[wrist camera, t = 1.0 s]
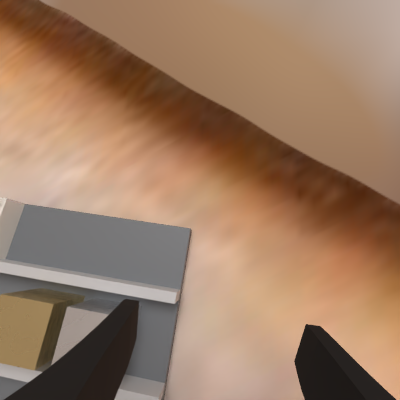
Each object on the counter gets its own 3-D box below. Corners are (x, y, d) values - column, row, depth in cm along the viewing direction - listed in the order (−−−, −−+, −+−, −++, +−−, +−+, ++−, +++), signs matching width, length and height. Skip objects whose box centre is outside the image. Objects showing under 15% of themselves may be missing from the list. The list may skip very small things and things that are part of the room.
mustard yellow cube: (71, 348, 19) (34, 370, 15) (26, 338, 19) (-22, 358, 15) (84, 295, 20) (53, 304, 16) (41, 287, 20) (0, 294, 16)
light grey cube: (130, 360, 18) (108, 386, 14) (82, 350, 19) (48, 373, 15) (141, 306, 19) (123, 317, 15) (96, 297, 20) (67, 306, 16)
